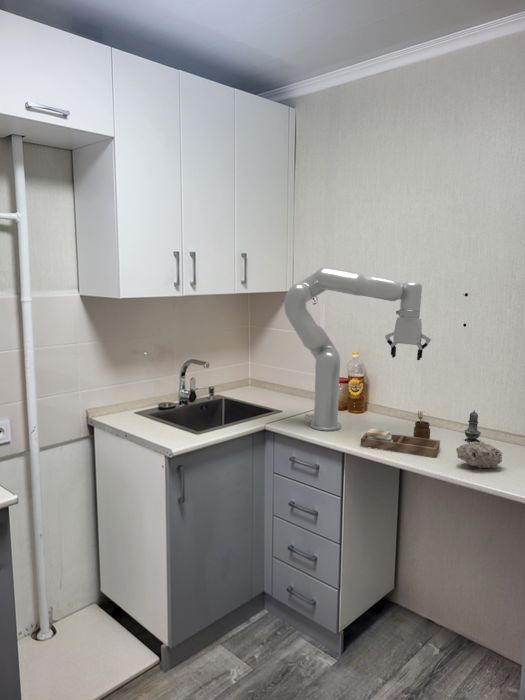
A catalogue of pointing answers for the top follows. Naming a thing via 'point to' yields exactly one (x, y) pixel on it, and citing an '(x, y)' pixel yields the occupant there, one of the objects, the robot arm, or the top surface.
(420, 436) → the utensil holder
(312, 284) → the robot arm
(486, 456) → the pumice stone
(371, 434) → the offcut stack
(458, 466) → the top surface
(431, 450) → the wooden divided tray
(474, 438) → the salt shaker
